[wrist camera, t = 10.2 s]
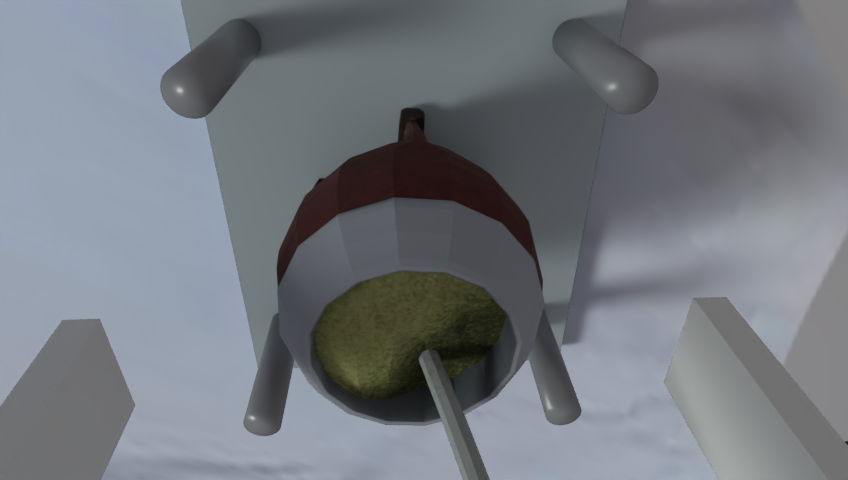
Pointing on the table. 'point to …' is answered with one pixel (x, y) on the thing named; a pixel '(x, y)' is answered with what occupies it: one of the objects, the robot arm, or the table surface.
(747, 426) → the robot arm
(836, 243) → the table surface
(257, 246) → the tray
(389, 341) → the mate gourd
